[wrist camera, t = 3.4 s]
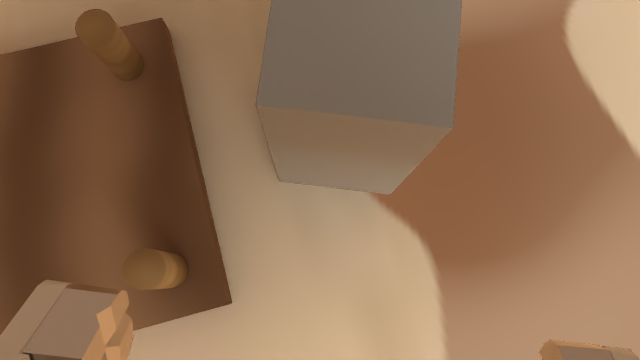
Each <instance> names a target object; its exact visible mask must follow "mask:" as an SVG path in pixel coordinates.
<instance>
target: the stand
mask: <svg viewBox="0 0 640 360" xmlns="http://www.w3.org/2000/svg"><path fill="white" fill-rule="evenodd" d="M75 30H76V34H77V36H78V37H77V38H73V39H68V40H64V41H60V42H56V43H51V44H47V45H43V46H38V47H34V48H30V49H25V50H21V51H17V52H13V53H8V54H4V55H0V335H1V334H2V332H3V331H4V330H5V328H6V327H7V326H8V324H9V323H10V322H11V320H12V319H13V318H14V316H15V315H16V314H17V312H18V311H19V310H20V308H21V307H22V306H23V304H24V303H25V302H26V300H27V299H28V298H29V296H30V295H31V294H32V292H33V291H34V290H35V288H36V287H37V286H38V285H39V284H40V283H42V282H43V281H45V280H53V281H60V282H68V283H76V284H83V285H90V286H97V287H104V288H111V289H118V290H123V291H127V295H128V299H129V305H128V307H127V309H126V311H125V313H126V314H127V315H128V316H129V317H130V318H131V319H132V323H133V331H134V330H137V329H141V328H144V327H148V326H152V325H155V324H159V323H162V322H166V321H170V320H173V319H177V318H181V317H184V316H188V315H191V314H195V313H199V312H202V311H206V310H209V309H213V308H217V307H220V306H224V305H227V304H231V303H232V300H231V296H230V291H229V287H228V283H227V278H226V274H225V270H224V265H223V261H222V257H221V252H220V248H219V244H218V239H217V235H216V231H215V226H214V222H213V218H212V214H211V209H210V205H209V201H208V196H207V192H206V188H205V183H204V179H203V175H202V170H201V166H200V162H199V157H198V153H197V149H196V144H195V140H194V136H193V131H192V127H191V123H190V119H189V114H188V110H187V106H186V101H185V97H184V93H183V88H182V84H181V80H180V75H179V71H178V67H177V62H176V58H175V54H174V49H173V45H172V41H171V36H170V32H169V30H168V28H167V26H166V24H165V22H164V21H163V19H162V18H159V19H154V20H150V21H146V22H141V23H137V24H133V25H129V26H124V27H120V28H119V27H118V25H117V24H116V23H115V21H114V20H113V19H112V17H111V16H110V15H109V14H108V13H107V12H105V11H103V10H100V9H92V10H88V11H86V12H84V13H83V14H82V15H81V16H80V17H79V18H78V20H77V22H76V26H75Z"/></svg>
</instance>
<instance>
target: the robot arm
mask: <svg viewBox="0 0 640 360" xmlns="http://www.w3.org/2000/svg"><path fill="white" fill-rule="evenodd" d="M128 305H129V299H128V295H127V291H123V290H118V289H111V288H104V287H97V286H90V285H83V284H76V283H68V282H60V281H53V280H45V281H43V282H42V283H40V284H39V285H38V286H37V287H36V288H35V290H34V291H33V292H32V294H31V295H30V296H29V298H28V299H27V300H26V302H25V303H24V304H23V306H22V307H21V308H20V310H19V311H18V312H17V314H16V315H15V316H14V318H13V319H12V320H11V322H10V323H9V324H8V326H7V327H6V328H5V330H4V331H3V332H2V334H1V335H0V360H127V357H128V355H129V352H130V348H131V344H132V340H133V323H132V319H131V318H130V317H129V316H128V315H127V314H126V313H125V311H126V309H127V307H128ZM540 355H541V358H542V360H639V358H638V357H637V355H636V354H635V353H634V352H633V351H632V350H631V349H625V348H617V347H609V346H600V345H594V344H585V343H575V342H565V341H557V340H549V341H547V342H545V343H544V344H543V347H542V348H541V350H540Z"/></svg>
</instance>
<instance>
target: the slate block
mask: <svg viewBox="0 0 640 360" xmlns="http://www.w3.org/2000/svg"><path fill="white" fill-rule="evenodd" d="M461 7H462V0H272V1H271V8H270V15H269V21H268V28H267V34H266V41H265V47H264V54H263V61H262V67H261V74H260V80H259V87H258V93H257V100H256V107H257V110H258V113H259V116H260V120H261V123H262V126H263V130H264V133H265V136H266V139H267V143H268V146H269V149H270V152H271V156H272V159H273V162H274V165H275V169H276V172H277V175H278V178H279V181H282V182H290V183H298V184H307V185H315V186H323V187H331V188H340V189H348V190H356V191H364V192H373V193H381V194H389V195H390V194H391V193H392V192H393V191H394V190H395V189H396V188H397V187H398V186H399V185H400V184H401V182H403V180H404V179H405V178H406V177H407V176H408V175H409V174H410V173H411V172H412V171H413V170H414V169H415V168H416V167H417V166H418V165H419V164H420V162H421V161H423V159H424V158H425V157H426V156H427V155H428V154H429V153H430V152H431V151H432V150H433V149H434V148H435V147H436V146H437V145H438V144H439V143H440V142H441V140H442V139H443V138H444V137H445V136H446V135H447V134H448V133H449V132H450V131H451V130H452V129H453V123H454V109H455V95H456V94H455V93H456V80H457V66H458V51H459V37H460V22H461Z"/></svg>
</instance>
